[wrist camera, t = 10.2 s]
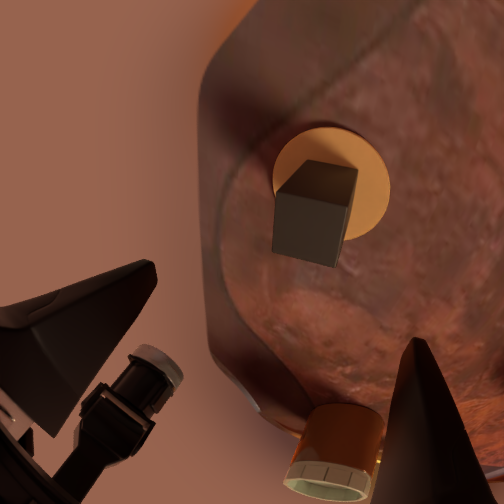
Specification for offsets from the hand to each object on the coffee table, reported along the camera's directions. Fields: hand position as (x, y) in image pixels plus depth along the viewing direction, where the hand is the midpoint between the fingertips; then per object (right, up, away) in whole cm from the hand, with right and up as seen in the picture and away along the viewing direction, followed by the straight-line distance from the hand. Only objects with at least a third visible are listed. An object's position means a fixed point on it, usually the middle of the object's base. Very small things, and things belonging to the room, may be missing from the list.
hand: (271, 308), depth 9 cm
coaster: (+4, +6, +8) cm, 10 cm away
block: (+4, +5, +7) cm, 10 cm away
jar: (+10, -18, +20) cm, 29 cm away
